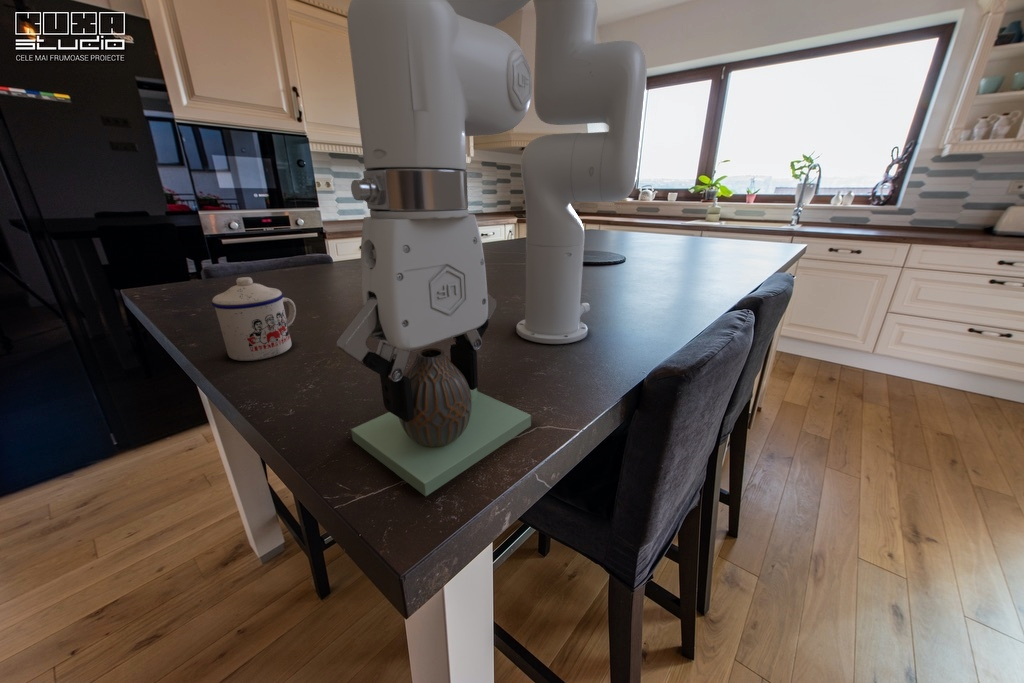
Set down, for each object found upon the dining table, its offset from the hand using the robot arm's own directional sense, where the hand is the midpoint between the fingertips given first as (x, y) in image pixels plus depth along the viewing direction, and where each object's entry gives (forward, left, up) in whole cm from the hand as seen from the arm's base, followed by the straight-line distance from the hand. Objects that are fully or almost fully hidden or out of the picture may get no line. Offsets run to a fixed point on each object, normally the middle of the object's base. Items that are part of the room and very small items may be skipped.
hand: (434, 397), depth 37 cm
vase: (0, 0, -4) cm, 4 cm away
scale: (-2, -1, -6) cm, 6 cm away
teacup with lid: (+1, -41, -6) cm, 42 cm away
